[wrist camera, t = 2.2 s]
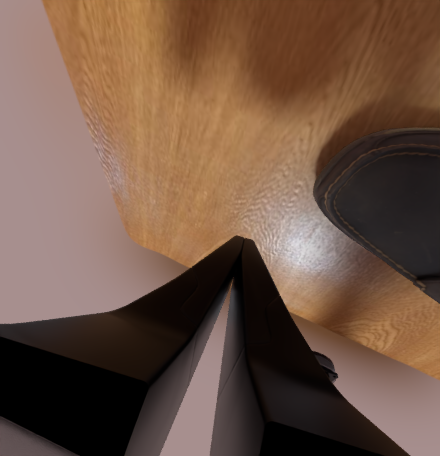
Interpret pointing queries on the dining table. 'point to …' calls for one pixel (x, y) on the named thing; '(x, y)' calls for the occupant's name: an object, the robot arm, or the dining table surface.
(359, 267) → the dining table surface
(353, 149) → the boat shoe
